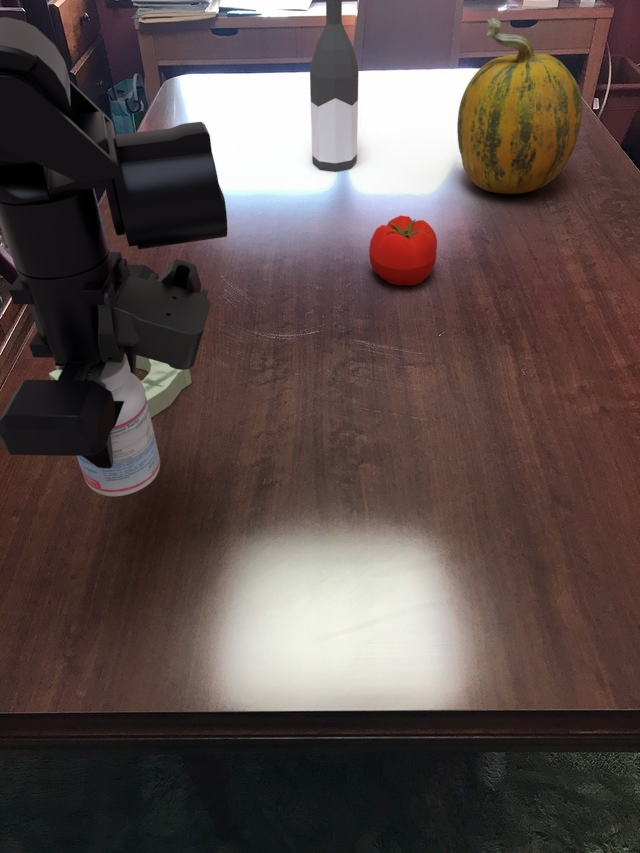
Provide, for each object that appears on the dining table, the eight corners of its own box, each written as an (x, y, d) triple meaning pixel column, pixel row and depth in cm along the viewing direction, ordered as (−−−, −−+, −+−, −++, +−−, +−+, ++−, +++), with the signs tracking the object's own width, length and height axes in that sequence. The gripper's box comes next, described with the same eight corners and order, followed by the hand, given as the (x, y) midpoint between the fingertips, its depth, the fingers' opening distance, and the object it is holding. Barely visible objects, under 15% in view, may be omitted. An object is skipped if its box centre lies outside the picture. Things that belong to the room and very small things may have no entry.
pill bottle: (80, 457, 57) (43, 347, 50) (152, 438, 59) (128, 329, 51) (91, 509, 53) (53, 397, 46) (169, 486, 55) (145, 376, 47)
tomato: (389, 299, 91) (392, 247, 86) (358, 269, 97) (359, 219, 92) (449, 282, 94) (456, 231, 88) (415, 254, 100) (419, 204, 94)
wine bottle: (355, 153, 128) (358, -40, 107) (358, 171, 122) (362, -30, 101) (311, 155, 127) (306, -38, 107) (312, 172, 122) (307, -28, 101)
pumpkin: (427, 184, 117) (442, 17, 100) (498, 154, 126) (523, -4, 109) (517, 221, 106) (551, 41, 89) (588, 185, 115) (630, 16, 98)
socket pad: (110, 444, 71) (104, 426, 70) (40, 391, 78) (33, 374, 76) (206, 382, 79) (203, 365, 77) (134, 339, 85) (130, 322, 84)
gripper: (159, 345, 36) (199, 534, 46) (213, 192, 49) (234, 365, 60) (-51, 343, 36) (37, 531, 47) (60, 192, 50) (108, 363, 60)
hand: (116, 437), depth 53 cm, fingers closed on pill bottle, 6 cm apart
